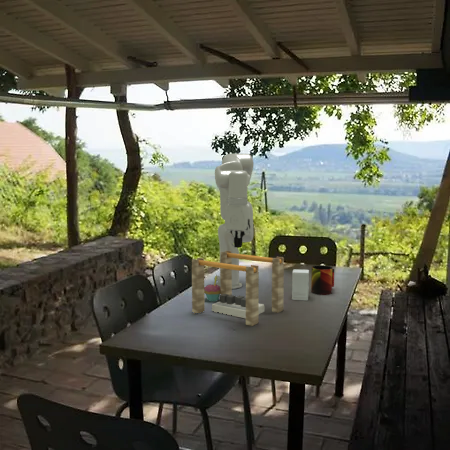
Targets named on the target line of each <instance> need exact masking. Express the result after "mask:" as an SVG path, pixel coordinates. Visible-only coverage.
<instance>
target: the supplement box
mask: <svg viewBox="0 0 450 450" xmlns="http://www.w3.org/2000/svg"><path fill="white" fill-rule="evenodd" d="M291 280H292V281H291V284H292V285H291V300H293V301H305V302H306V301H309V290H310V289H309V286H310V285H309V284H310V270H309V269H297V268H296V269H294V268H293V270H292V278H291Z"/></svg>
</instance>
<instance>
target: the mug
mask: <svg viewBox="0 0 450 450" xmlns="http://www.w3.org/2000/svg"><path fill="white" fill-rule="evenodd" d="M310 282H311V283H310V288H311V289H310V291H311V292H310V293H311V294H312V295H313V294H314V295H318V296H328V295H331V294H332V293H333V291H332V289H333V288H334V287H335V268H333V267H332V266H329V265H313V266H311V279H310Z"/></svg>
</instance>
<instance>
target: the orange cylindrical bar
mask: <svg viewBox="0 0 450 450" xmlns="http://www.w3.org/2000/svg"><path fill="white" fill-rule="evenodd" d="M227 257H230V258H238V259H239V260H247V261H255V262H263V263H269V264H272V258H273V257H267V256H266V257H265V256H259V255H250V254H249V255H248V254H244V253H243V254H242V253H239V254H235V253H227ZM281 262H282V261H281V259H280V263H281Z"/></svg>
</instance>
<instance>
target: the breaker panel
mask: <svg viewBox="0 0 450 450" xmlns="http://www.w3.org/2000/svg"><path fill="white" fill-rule="evenodd" d="M211 306H212V307H211V312H212V311H214V312H213V313H217V312H219V313H218V314H222V313H223V315H226V314H227V315H228V316H231V315H232V316H231V317H236V318H237V317H238V318H243V319H246V297H245V296H244V295H237V296H236V295H233V294H232V295H229V294H222V295H221V294H220V296H219V301H216V302H215V303H212V305H211ZM262 313H265V304H264V303H259V315H261V314H262Z"/></svg>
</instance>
